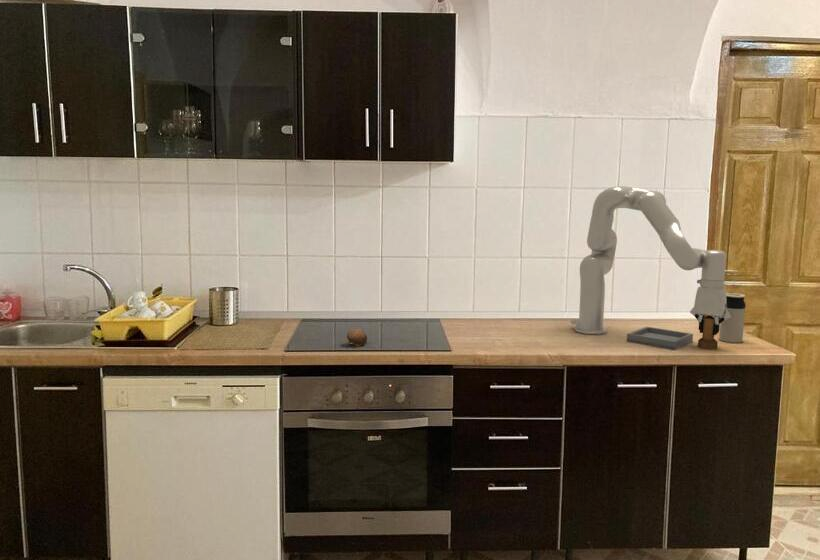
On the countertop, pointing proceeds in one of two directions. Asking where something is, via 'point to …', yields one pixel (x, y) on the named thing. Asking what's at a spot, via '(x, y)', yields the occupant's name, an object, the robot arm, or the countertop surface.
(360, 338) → the mushroom
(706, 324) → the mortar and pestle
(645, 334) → the tray
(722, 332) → the travel mug
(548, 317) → the countertop surface
